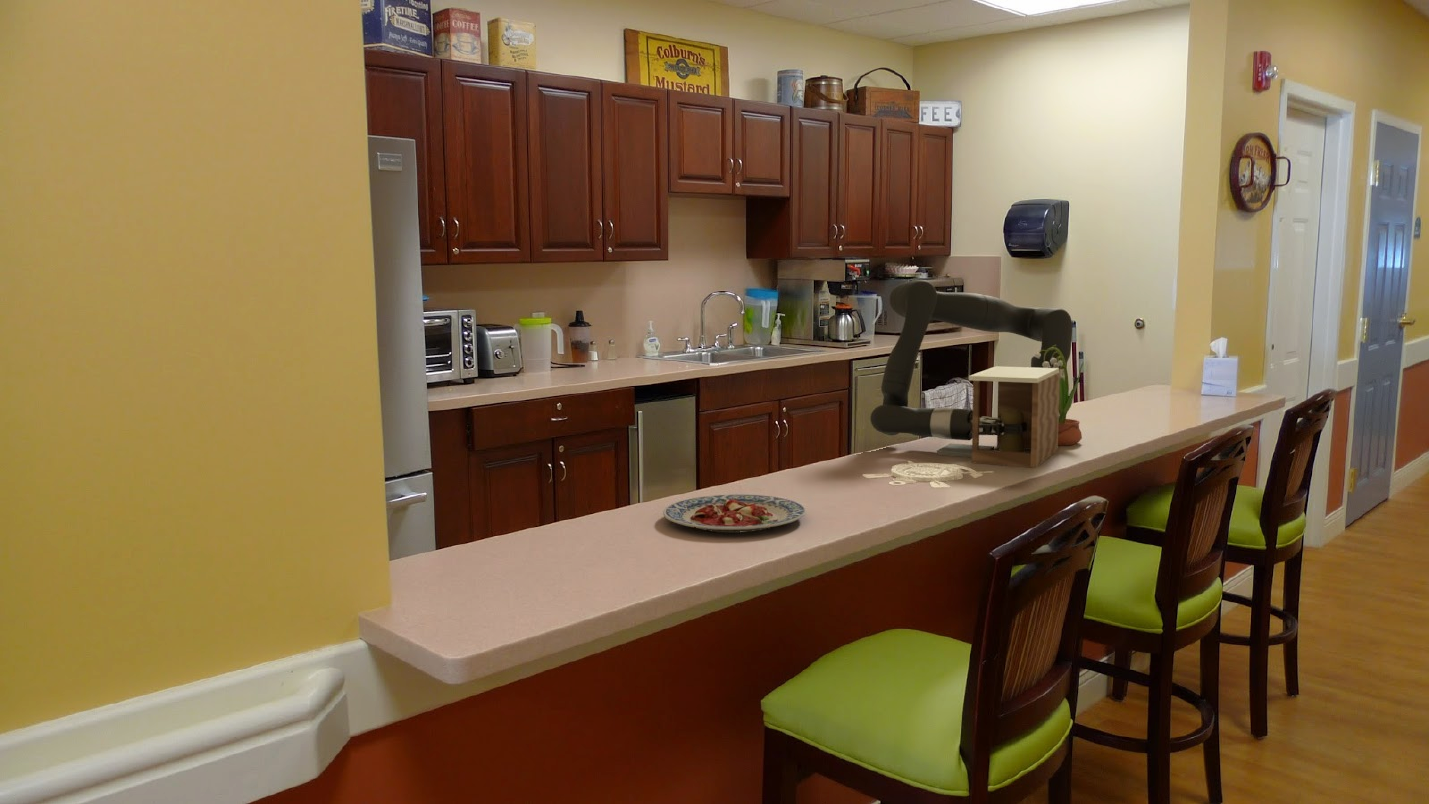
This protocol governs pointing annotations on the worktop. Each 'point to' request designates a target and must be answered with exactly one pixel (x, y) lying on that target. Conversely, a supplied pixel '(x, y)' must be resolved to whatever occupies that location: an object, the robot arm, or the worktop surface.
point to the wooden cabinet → (1031, 396)
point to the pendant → (926, 473)
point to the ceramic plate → (734, 512)
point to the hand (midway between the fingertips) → (1024, 428)
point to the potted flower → (1064, 401)
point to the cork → (1012, 440)
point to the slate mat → (960, 450)
